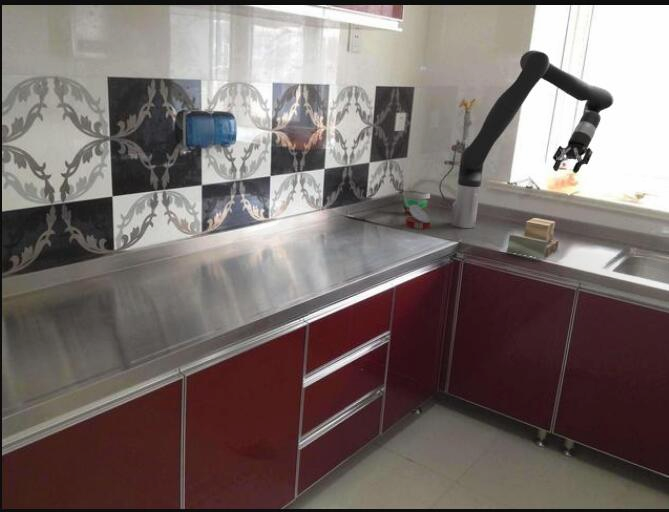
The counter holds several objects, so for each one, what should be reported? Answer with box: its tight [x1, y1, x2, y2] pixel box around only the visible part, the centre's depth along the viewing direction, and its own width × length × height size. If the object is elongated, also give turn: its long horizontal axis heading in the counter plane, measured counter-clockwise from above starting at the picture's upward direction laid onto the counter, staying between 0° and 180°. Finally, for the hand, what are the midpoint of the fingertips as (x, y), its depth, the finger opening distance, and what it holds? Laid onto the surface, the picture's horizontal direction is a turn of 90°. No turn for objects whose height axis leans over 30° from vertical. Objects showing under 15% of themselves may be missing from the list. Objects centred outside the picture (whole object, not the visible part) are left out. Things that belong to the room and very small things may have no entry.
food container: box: [402, 190, 431, 216], centre depth 280 cm, size 12×6×10 cm, turn 81°
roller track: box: [506, 233, 560, 260], centre depth 236 cm, size 20×13×6 cm, turn 147°
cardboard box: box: [523, 217, 556, 243], centre depth 239 cm, size 10×8×7 cm
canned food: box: [405, 204, 431, 230], centre depth 260 cm, size 11×10×10 cm
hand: (564, 171), depth 248 cm, fingers open, 8 cm apart
